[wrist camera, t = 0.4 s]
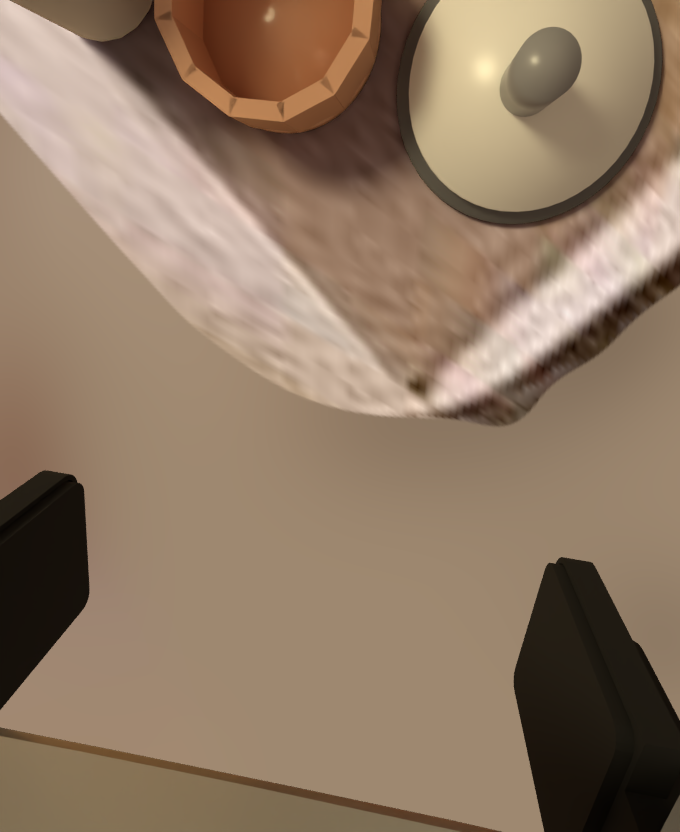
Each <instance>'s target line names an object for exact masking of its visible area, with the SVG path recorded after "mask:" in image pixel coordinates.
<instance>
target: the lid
mask: <svg viewBox="0 0 680 832" xmlns="http://www.w3.org/2000/svg"><path fill="white" fill-rule="evenodd" d="M653 71H654V42H653V36H652V30H651V25H650V22H649V18H648V15H647V12H646V9H645V7H644V4H643V2H642V0H440V1H439V3H438V4H437V6H436V7H435V9H434V10H433V12H432V14H431V16H430V17H429V19H428V21H427V23H426V25H425V27H424V29H423V31H422V34H421V36H420V38H419V41H418V44H417V47H416V51H415V54H414V57H413V62H412V67H411V73H410V82H409V110H410V117H411V124H412V129H413V132H414V135H415V139H416V142H417V145H418V147H419V149H420V151H421V154H422V156H423V158H424V159H425V161H426V163H427V164H428V166H429V168H430V169H431V170H432V172H433V173H434V174H435V175H436V177H437V178H438V179H439V180H440V181H441V182H442V183H443V184H444V185H445V186H446V187H447V188H448V189H449V190H451V191H452V192H454V193H455V194H456V195H458V196H459V197H461V198H462V199H464V200H466V201H468V202H470V203H472V204H475V205H478V206H481V207H484V208H487V209H492V210H497V211H510V212H521V211H532V210H537V209H541V208H545V207H549V206H552V205H554V204H557V203H560V202H563V201H565V200H567V199H568V198H570V197H572V196H574V195H576V194H578V193H579V192H581V191H582V190H584V189H585V188H587V187H588V186H590V185H591V184H592V183H594V182H595V181H596V180H597V179H598V178H600V177H601V176H602V175H603V174H604V173H605V172H606V171H607V170H608V169H609V168H610V167H611V166H612V165H613V164H614V163H615V162H616V160H617V159H618V158H619V156H620V155H621V154H622V152H623V151H624V150H625V148H626V147H627V145H628V144H629V142H630V140H631V139H632V137H633V135H634V134H635V132H636V130H637V128H638V126H639V123H640V121H641V119H642V117H643V114H644V111H645V108H646V105H647V102H648V99H649V95H650V90H651V86H652V81H653Z"/></svg>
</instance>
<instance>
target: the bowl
mask: <svg viewBox="0 0 680 832" xmlns="http://www.w3.org/2000/svg"><path fill="white" fill-rule="evenodd" d="M381 4H382V0H154V19H155V22H156V24H157V26H158V28H159V30H160V32H161V35H162V37H163V39H164V41H165V43H166V45H167V48H168V50H169V52H170V54H171V56H172V58H173V61H174V63H175V65H176V67H177V69H178V71H179V74H180V76H181V78H182V80H183V81H185V82H186V83H187V84H188V85H190V86H191V87H192V88H194V89H195V90H196V91H197V92H199V93H200V94H201V95H202V96H204V97H205V98H206V99H208V100H209V101H210V102H211V103H213V104H214V105H215V106H216V107H218V108H219V109H220V110H222V111H223V112H224V113H225V114H227V115H228V116H229V117H232V118H234V119H236V120H238V121H240V122H242V123H244V124H246V125H248V126H250V127H252V128H260V129H263V130H266V131H270V132H276V133H289V134H292V133H300V132H305V131H309V130H313V129H315V128H318V127H320V126H322V125H325V124H326V123H328V122H330V121H331V120H333V119H335V118H336V117H337V116H338V115H340V114H341V113H342V112H343V111H344V110H346V109H347V107H348V106H349V105H350V104H351V103H352V102H353V101H354V100H355V98H356V97H357V96H358V94H359V93H360V92H361V90H362V89H363V87H364V85H365V83H366V81H367V80H368V78H369V75H370V73H371V71H372V68H373V66H374V63H375V59H376V56H377V52H378V48H379V42H380V35H381Z"/></svg>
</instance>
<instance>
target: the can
mask: <svg viewBox="0 0 680 832" xmlns="http://www.w3.org/2000/svg"><path fill="white" fill-rule="evenodd" d="M10 1H12V2H14V3H16V4H18V5H20V6H22V7H24V8H26V9H28V10H30V11H32V12H34V13H36V14H38V15H39V16H41V17H43V18H45V19H47V20H49V21H51V22H53V23H55V24H57V25H59V26H61V27H63V28H65V29H67V30H69V31H71V32H73V33H75V34H77V35H78V36H80V37H82V38H86V39H91V40H96V41H101V42H103V41H109V40H114V39H119V38H122V37H123V36H125V35H126V34H128V33H129V32H131V31H132V30H134V29H135V28H137V27H138V25H139V24H140V22H141V21H142V20H143V18H144V17H145V16H146V14H147V13H148V11H149V10H150V7H151V4H152V1H153V0H10Z"/></svg>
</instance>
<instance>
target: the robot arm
mask: <svg viewBox="0 0 680 832" xmlns="http://www.w3.org/2000/svg"><path fill="white" fill-rule="evenodd" d="M88 574H89V573H88V555H87V537H86V518H85V500H84V488H83V486H82V485H81V484H80V483H77V480H76V478H75V477H74V476H73V475H70V474H64V473H58V472H52V471H42V472H40V473H38V474H37V475H35V476H34V477H33V478H31V479H30V480H28V481H27V482H26V483H24V484H23V485H21V486H20V487H18V488H17V489H16V490H14V491H13V492H11V493H10V494H9V495H7V496H6V497H4V498H3V499H1V500H0V709H1V708H2V707H3V706H4V705H5V704H6V702H7V701H8V700H9V699H10V697H11V696H12V695H13V694H14V692H15V691H16V690H17V689H18V688H19V687H20V685H21V684H22V683H23V682H24V680H25V679H26V678H27V677H28V676H29V674H30V673H31V672H32V671H33V669H34V668H35V667H36V666H37V665H38V663H39V662H40V661H41V660H42V659H43V657H44V656H45V655H46V654H47V653H48V651H49V650H50V649H51V647H52V646H53V645H54V644H55V643H56V641H57V640H58V639H59V638H60V637H61V635H62V634H63V633H64V632H65V631H66V629H67V628H68V627H69V626H70V625H71V623H72V622H73V621H74V619H75V618H76V617H77V616H78V615H79V614H80V612H81V611H82V610H83V609H84V607H85V605H86V603H87V600H88V597H89V575H88ZM514 690H515V695H516V699H517V704H518V709H519V714H520V719H521V724H522V728H523V733H524V738H525V742H526V747H527V752H528V757H529V761H530V766H531V770H532V776H533V780H534V785H535V790H536V794H537V799H538V804H539V809H540V813H541V818H542V822H543V827H544V832H680V720H679V718H678V716H677V714H676V712H675V710H674V709H673V707H672V705H671V703H670V701H669V699H668V697H667V695H666V693H665V691H664V689H663V688H662V686H661V684H660V682H659V680H658V678H657V676H656V674H655V672H654V670H653V668H652V667H651V665H650V663H649V661H648V659H647V657H646V655H645V653H644V651H643V650H642V648H641V647H640V645H639V644H638V643H636V642H635V641H633V640H632V638H631V636H630V635H629V632H628V630H627V628H626V626H625V625H624V623H623V621H622V619H621V617H620V615H619V613H618V611H617V609H616V607H615V605H614V603H613V601H612V599H611V597H610V595H609V593H608V591H607V589H606V587H605V586H604V583H603V581H602V579H601V578H600V575H599V574H598V572H597V570H596V568H595V566H594V565H593V563H591V562H586V561H581V560H575V559H569V558H563V557H561V558H559V559H558V561H557V562H556V564H553V563H549V564H548V565H547V566H546V568H545V571H544V575H543V578H542V581H541V585H540V588H539V591H538V594H537V598H536V601H535V604H534V608H533V611H532V614H531V618H530V621H529V625H528V628H527V631H526V634H525V638H524V641H523V644H522V648H521V651H520V654H519V658H518V661H517V664H516V668H515V672H514ZM0 832H501V831H496V830H492V829H488V828H484V827H479V826H475V825H470V824H466V823H462V822H457V821H453V820H449V819H444V818H439V817H434V816H429V815H425V814H420V813H415V812H411V811H406V810H401V809H396V808H392V807H386V806H382V805H377V804H373V803H368V802H363V801H358V800H353V799H349V798H344V797H339V796H334V795H330V794H325V793H320V792H316V791H311V790H306V789H301V788H297V787H292V786H287V785H282V784H277V783H272V782H268V781H263V780H258V779H253V778H248V777H243V776H238V775H233V774H229V773H224V772H219V771H214V770H209V769H204V768H199V767H195V766H190V765H185V764H180V763H175V762H169V761H165V760H160V759H155V758H150V757H146V756H140V755H135V754H131V753H126V752H121V751H116V750H111V749H106V748H101V747H96V746H91V745H86V744H81V743H76V742H70V741H66V740H61V739H55V738H50V737H45V736H40V735H35V734H30V733H25V732H20V731H15V730H10V729H5V728H0Z"/></svg>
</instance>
